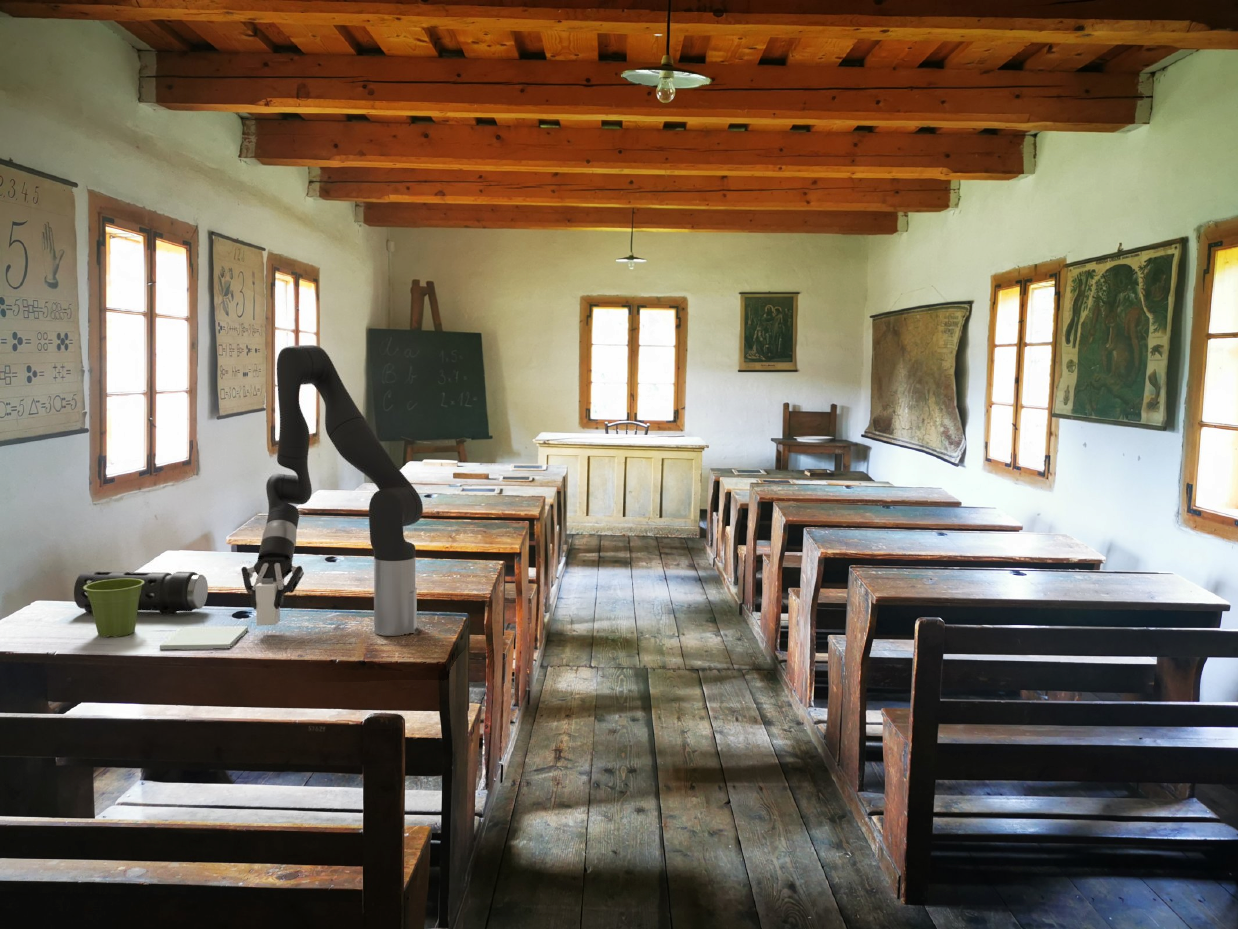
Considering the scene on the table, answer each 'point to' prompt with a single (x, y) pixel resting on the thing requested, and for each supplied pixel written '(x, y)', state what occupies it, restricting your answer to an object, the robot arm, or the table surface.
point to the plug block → (266, 602)
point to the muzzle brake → (153, 590)
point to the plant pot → (114, 605)
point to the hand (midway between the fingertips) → (265, 607)
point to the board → (204, 637)
